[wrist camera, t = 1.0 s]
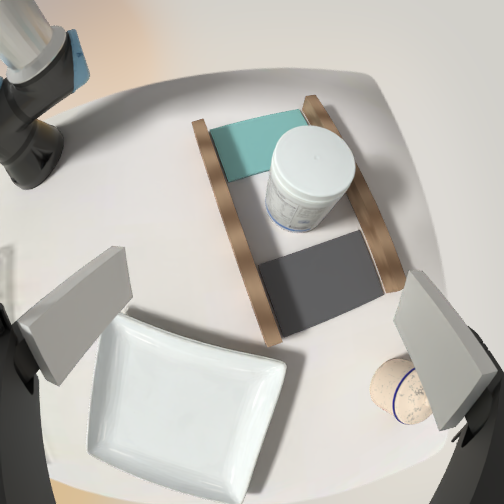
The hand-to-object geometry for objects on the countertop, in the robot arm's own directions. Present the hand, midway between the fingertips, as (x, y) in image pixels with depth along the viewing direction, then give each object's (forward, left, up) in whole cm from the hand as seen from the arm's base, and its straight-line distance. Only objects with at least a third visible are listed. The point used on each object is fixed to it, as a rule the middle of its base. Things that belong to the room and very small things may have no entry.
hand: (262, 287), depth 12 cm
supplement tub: (-12, +11, -28) cm, 32 cm away
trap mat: (+1, +11, -28) cm, 30 cm away
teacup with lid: (+21, +18, -28) cm, 40 cm away
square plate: (+13, -17, -28) cm, 35 cm away
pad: (-24, +11, -28) cm, 39 cm away
